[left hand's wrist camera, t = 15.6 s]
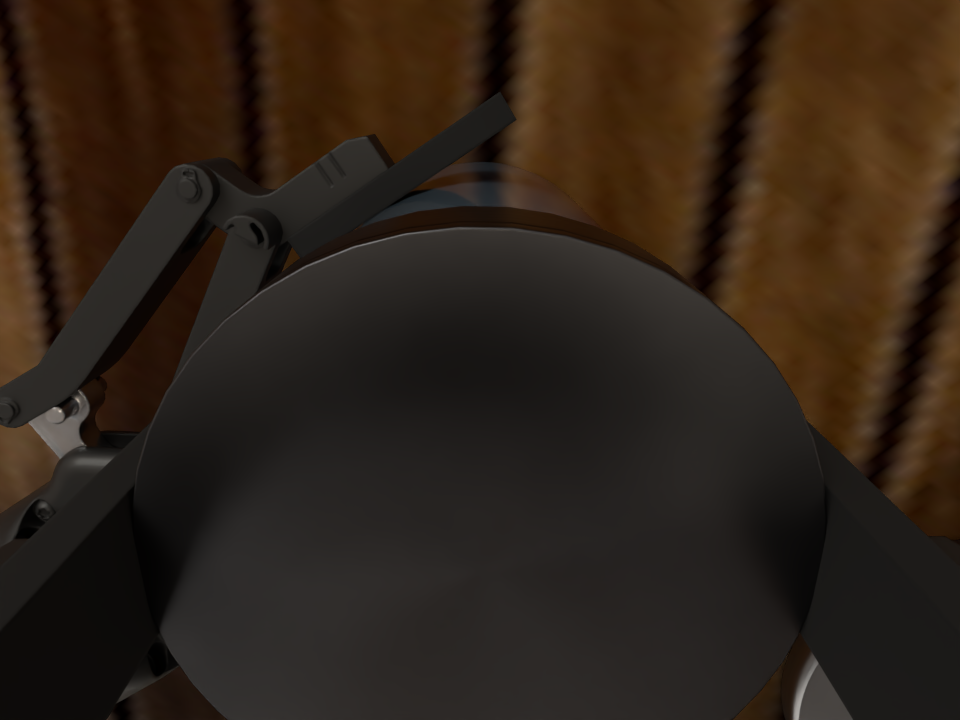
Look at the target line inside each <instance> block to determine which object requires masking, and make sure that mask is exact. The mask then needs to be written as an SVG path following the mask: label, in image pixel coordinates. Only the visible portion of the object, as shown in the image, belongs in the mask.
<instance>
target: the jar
mask: <svg viewBox="0 0 960 720" xmlns="http://www.w3.org/2000/svg"><path fill="white" fill-rule="evenodd" d="M458 206H493V207H513V208H519V209H526V210H532V211H539V212H546V213H552V214H556V215H559V216H562V217H566V218H569V219H573V220H576V221H580V222H583V223H586V224H590V225H593V226H596V227H598V228H600V229H602V228H601V227H600V226H599V225H598V224H597V223H596V222H595V221H594V220H593V219H592V218H591V217H590V216H589V215H588V214H587V213H586V212H585V211H584V210H583V209H582V208H581V207H580V206H579V205H578V204H577V203H576V202H575V201H573V200H572V199H571V198H570V197H569V196H568V195H567V194H566V193H565V192H564V191H562V190H561V189H560V188H558V187H557V186H556V185H554V184H553V183H551V182H549V181H548V180H546V179H544V178H542V177H540V176H538V175H537V174H534V173H532V172H529V171H526V170H524V169H521V168H518V167H514V166H509V165H505V164H499V163H489V162H471V163H461V164H455V165H450V166H448V167H446V168H445V169H443V170H442V171H440V172H439V173H437V174H436V175H434V176H433V177H431V178H430V179H428V180H427V181H425V182H424V183H422V184H421V185H419V186H418V187H416V188H415V189H414V190H412V191H411V192H409V193H408V194H406V195H405V196H403V197H402V198H400V199H399V200H397V201H396V202H394V203H393V204H391V205H390V206H388V207H387V208H385V209H384V210H383V211H381V212H380V213H378V214H377V215H375V216H374V217H372V218H371V219H369V220H368V221H366V222H365V223H363V224H362V225H360V226H359V227H358V228H357V229H359V228H362V227H364V226H367V225H369V224H372V223H374V222H378V221H381V220H385V219H389V218H393V217H397V216H401V215H405V214H409V213H413V212H417V211H424V210H432V209H441V208H449V207H458ZM357 229H356V230H357Z"/></svg>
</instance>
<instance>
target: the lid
mask: <svg viewBox="0 0 960 720" xmlns="http://www.w3.org/2000/svg"><path fill="white" fill-rule="evenodd" d="M132 522H133V535H134V541H135V546H136V551H137V555H138V560H139V565H140V570H141V574H142V579H143V584H144V588H145V593H146V597H147V601H148V605H149V609H150V612H151V615H152V618H153V620H154V622H155V624H156V626H157V628H158V630H159V632H160V634H161V636H162V637H163V639H164V641H165V643H166V645H167V647H168V649H169V651H170V653H171V654H172V656H173V657H174V658H175V660H176V661H177V663H178V664H179V665H180V667H181V668H182V670H183V671H184V673H185V674H186V675H187V677H188V678H189V680H190V681H191V682H192V684H193V685H194V686H195V687H196V688H197V689H198V690H199V691H200V692H201V693H202V695H203V696H204V697H205V698H206V699H207V700H208V701H209V702H210V703H211V704H212V705H213V707H214V708H215V709H216V710H217V711H218V712H219V713H221V714H222V715H223V716H224V717H225V718H226V719H228V720H732V719H733V718H735V717H736V716H737V715H738V714H739V713H740V711H741V710H742V709H743V708H744V707H745V706H746V705H747V704H748V703H749V702H750V701H751V700H752V699H753V698H754V697H755V696H756V695H757V694H758V693H759V692H760V691H761V690H762V688H763V687H764V686H765V684H766V683H767V682H768V681H769V679H770V678H771V677H772V675H773V674H774V673H775V671H776V670H777V669H778V667H779V666H780V665H781V663H782V662H783V661H784V659H785V657H786V655H787V654H788V652H789V650H790V648H791V647H792V645H793V643H794V641H795V640H796V638H797V636H798V634H799V633H800V631H801V629H802V627H803V624H804V622H805V619H806V617H807V614H808V611H809V609H810V606H811V603H812V599H813V596H814V591H815V586H816V582H817V577H818V572H819V567H820V563H821V558H822V553H823V548H824V543H825V537H826V526H827V512H826V500H825V488H824V477H823V473H822V469H821V465H820V461H819V457H818V453H817V449H816V445H815V441H814V438H813V435H812V433H811V431H810V428H809V426H808V424H807V421H806V419H805V417H804V414H803V412H802V410H801V407H800V405H799V403H798V400H797V399H796V397H795V395H794V394H793V392H792V391H791V389H790V387H789V386H788V384H787V383H786V381H785V380H784V378H783V376H782V375H781V373H780V372H779V370H778V368H777V367H776V365H775V364H774V362H773V361H772V360H771V359H770V358H769V357H768V355H767V354H766V353H765V352H764V351H763V350H762V348H761V347H760V346H759V345H758V344H757V343H756V342H755V340H754V339H753V338H752V337H751V336H750V335H749V334H748V332H747V331H746V330H745V329H744V328H743V327H742V326H741V325H739V324H738V323H737V322H736V321H735V320H734V319H732V318H731V317H730V316H729V315H728V314H727V313H725V312H724V311H723V310H722V309H721V308H719V307H718V306H717V305H716V304H715V303H714V302H712V301H711V300H710V299H709V298H708V297H707V296H705V295H704V294H703V293H702V292H700V291H699V290H698V289H697V288H696V287H694V286H693V285H692V284H691V283H690V282H688V281H687V280H686V279H685V278H684V277H682V276H681V275H680V274H679V273H678V272H676V271H675V270H674V269H673V268H672V267H670V266H669V265H667V264H666V263H664V262H663V261H661V260H659V259H658V258H656V257H655V256H653V255H651V254H650V253H648V252H647V251H645V250H643V249H642V248H640V247H639V246H637V245H636V244H634V243H632V242H629V241H627V240H625V239H623V238H620V237H618V236H616V235H614V234H612V233H609V232H607V231H605V230H603V229H600V228H598V227H596V226H593V225H590V224H586V223H583V222H580V221H576V220H573V219H569V218H566V217H562V216H559V215H556V214H552V213H546V212H539V211H532V210H526V209H519V208H513V207H493V206H458V207H449V208H441V209H432V210H424V211H417V212H413V213H409V214H405V215H401V216H397V217H393V218H389V219H385V220H381V221H378V222H374V223H372V224H369V225H367V226H364V227H362V228H359V229H357V230H354V231H352V232H350V233H347V234H345V235H342V236H340V237H337V238H335V239H333V240H331V241H329V242H328V243H326V244H324V245H323V246H321V247H319V248H317V249H316V250H314V251H312V252H310V253H309V254H307V255H305V256H304V257H302V258H300V259H298V260H297V261H296V262H294V263H293V264H292V265H291V266H289V267H288V268H287V269H286V270H284V271H283V272H282V273H280V274H279V275H278V276H277V277H275V278H274V279H273V280H272V281H270V282H269V283H268V284H267V285H265V286H264V287H263V288H262V289H260V290H259V291H258V292H257V293H255V294H254V295H253V296H252V297H251V298H249V299H248V300H247V301H246V302H245V303H243V304H242V305H241V306H240V307H238V308H237V309H236V310H235V311H234V312H232V313H231V314H230V315H229V316H227V317H226V318H225V319H224V320H223V321H222V322H221V323H220V324H219V325H218V326H217V327H216V328H215V329H214V330H213V331H212V333H211V334H210V335H209V336H208V337H207V338H206V339H205V340H204V341H203V342H202V343H201V344H200V345H199V346H198V347H197V348H196V350H195V351H194V352H193V353H192V354H191V355H190V357H189V358H188V360H187V361H186V363H185V364H184V366H183V367H182V368H181V370H180V371H179V373H178V374H177V376H176V377H175V379H174V380H173V382H172V383H171V384H170V386H169V387H168V389H167V390H166V392H165V395H164V397H163V399H162V401H161V403H160V405H159V407H158V409H157V411H156V414H155V416H154V418H153V420H152V422H151V424H150V426H149V428H148V432H147V435H146V438H145V442H144V445H143V449H142V452H141V456H140V459H139V463H138V466H137V471H136V480H135V488H134V496H133V504H132Z"/></svg>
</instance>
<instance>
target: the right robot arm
mask: <svg viewBox="0 0 960 720" xmlns="http://www.w3.org/2000/svg"><path fill="white" fill-rule="evenodd" d="M515 120H516V118H515V116H514V115H513V113H512V111H511V110H510V108H509V106H508V105H507V103H506V101H505V99H504V98H503V96H502V94H501V93H500V92H499V93H498V94H496V95H495V96H493V97H492V98H490V99H489V100H487V101H486V102H485V103H483V104H482V105H480V106H479V107H477V108H476V109H474V110H473V111H471V112H470V113H469V114H467V115H466V116H464V117H463V118H461V119H460V120H458V121H457V122H456V123H454V124H453V125H451V126H450V127H448V128H447V129H445V130H444V131H442V132H441V133H440V134H438V135H437V136H435V137H434V138H432V139H431V140H429V141H428V142H427V143H425V144H424V145H422V146H421V147H419V148H418V149H416V150H415V151H414V152H412V153H411V154H409V155H408V156H406V157H405V158H403V159H402V160H400V161H399V162H398V163H396V164H394V162H393V161H392V159H391V158H390V156H389V155H388V153H387V152H386V150H385V149H384V147H383V146H382V144H381V143H380V141H379V140H378V138H377V137H376V135H375V134H373V135H368V136H363V137H358V138H354V139H349V140H346V141H344V142H343V143H342V144H340V145H339V146H337V147H336V148H335V149H333V150H332V151H330V152H329V153H328V154H326V155H325V156H323V157H322V158H320V159H319V160H318V161H316V162H315V163H313V164H312V165H311V166H309V167H308V168H306V169H305V170H304V171H302V172H301V173H299V174H298V175H297V176H295V177H294V178H292V179H291V180H289V181H288V182H287V183H285V184H284V185H282V186H281V187H280V188H278V189H277V190H270V189H266V188H263V187H261V186H259V185H257V184H256V183H254V182H253V181H252V180H250V179H249V178H247V177H246V176H245V175H243V174H242V172H241V169H240V168H239V167H238V166H237V165H236V164H235V163H234V162H232V161H231V160H229V159H227V158H213V159H207V160H202V161H196V162H191V163H186V164H182V165H179V166H175V167H174V168H173V169H172V170H171V171H170V172H169V173H168V174H167V176H166V177H165V179H164V180H163V182H162V183H161V185H160V186H159V188H158V189H157V191H156V192H155V193H154V195H153V196H152V198H151V199H150V201H149V202H148V204H147V205H146V207H145V208H144V210H143V211H142V213H141V214H140V216H139V217H138V219H137V220H136V221H135V223H134V224H133V226H132V227H131V229H130V230H129V232H128V233H127V235H126V236H125V238H124V239H123V241H122V242H121V244H120V245H119V247H118V248H117V249H116V251H115V252H114V254H113V255H112V257H111V258H110V260H109V261H108V263H107V264H106V266H105V267H104V269H103V270H102V272H101V273H100V275H99V276H98V278H97V279H96V280H95V282H94V283H93V285H92V286H91V288H90V289H89V291H88V292H87V294H86V295H85V297H84V298H83V300H82V301H81V303H80V304H79V306H78V307H77V308H76V310H75V311H74V313H73V314H72V316H71V317H70V319H69V320H68V322H67V323H66V325H65V326H64V328H63V329H62V331H61V332H60V334H59V335H58V336H57V338H56V339H55V341H54V342H53V344H52V345H51V347H50V348H49V350H48V351H47V353H46V354H45V356H44V357H43V359H42V360H41V362H40V363H39V364H38V366H36V367H34V368H33V369H31V370H29V371H28V372H26V373H24V374H22V375H21V376H19V377H17V378H16V379H14V380H12V381H11V382H9V383H7V384H6V385H4V386H2V387H1V388H0V425H3V426H5V427H10V428H17V427H20V426H23V425H24V424H26V423H29V424H30V425H31V426H32V427H33V428H34V430H35V431H36V432H37V433H38V434H39V435H40V436H41V438H42V439H43V440H44V441H45V442H46V443H47V444H48V446H49V447H50V448H51V449H52V450H53V451H54V452H55V454H56V455H57V456H58V457H59V458H60V460H59V462H58V463H57V465H56V467H55V470H54V473H53V476H52V479H51V481H49V482H48V483H46V484H45V485H43V486H42V487H40V488H39V489H37V490H36V491H34V492H33V493H31V494H30V495H28V496H27V497H25V498H24V499H22V500H20V501H19V502H17V503H16V504H14V505H13V506H11V507H10V508H8V509H7V510H5V511H4V512H2V513H1V514H0V547H2V546H3V545H5V544H7V543H9V542H10V541H12V540H14V539H29V538H30V537H31V536H32V535H34V534H35V533H36V532H37V531H38V530H39V529H40V528H41V527H42V526H43V525H44V524H45V523H46V522H47V521H48V520H49V519H50V518H51V517H52V516H53V515H54V514H55V513H57V512H58V511H59V510H60V509H61V508H62V507H63V506H64V505H65V504H66V503H67V502H68V501H69V500H70V499H71V498H72V497H73V496H74V495H75V494H76V493H77V492H79V491H80V490H81V489H82V488H83V487H84V486H85V485H86V484H87V483H88V482H89V481H90V480H91V479H92V478H93V477H94V476H95V475H96V474H97V473H98V472H99V471H100V470H102V469H103V468H104V467H105V466H106V465H107V464H108V463H109V462H110V461H111V460H112V459H113V458H114V457H115V456H116V455H117V454H118V453H119V452H120V451H121V450H122V449H123V448H125V447H126V446H127V445H128V444H129V443H130V442H131V441H132V440H133V439H134V438H135V437H136V436H137V435H138V434H139V433H140V432H130V431H100V430H99V429H98V427H97V426H96V422H95V414H96V412H97V410H98V409H99V408H100V407H101V406H102V405H103V403H104V401H105V392H104V391H105V390H106V388H107V383H106V381H105V380H104V379H103V378H102V377H100V375H101V374H103V373H104V372H106V371H107V370H108V369H110V368H111V367H112V366H113V365H114V364H115V363H116V362H117V361H119V360H120V358H121V357H122V356H123V355H124V354H125V352H126V351H127V350H128V349H129V347H130V346H131V344H132V343H133V342H134V340H135V339H136V337H137V336H138V335H139V333H140V332H141V331H142V329H143V328H144V326H145V325H146V324H147V322H148V321H149V319H150V318H151V317H152V315H153V314H154V313H155V311H156V310H157V308H158V307H159V306H160V304H161V303H162V301H163V300H164V299H165V297H166V296H167V295H168V293H169V292H170V290H171V289H172V288H173V286H174V285H175V283H176V282H177V281H178V279H179V278H180V277H181V275H182V274H183V272H184V271H185V270H186V268H187V267H188V265H189V264H190V263H191V261H192V260H193V259H194V257H195V256H196V254H197V253H198V252H199V250H200V249H201V247H202V246H203V245H204V243H205V242H206V241H207V239H208V238H209V236H210V235H211V234H212V232H213V231H214V229H215V228H216V227H218V228H220V229H221V230H223V231H224V232H226V233H227V234H228V236H227V239H226V241H225V244H224V247H223V249H222V252H221V254H220V257H219V260H218V262H217V265H216V268H215V270H214V273H213V276H212V278H211V281H210V283H209V286H208V289H207V291H206V294H205V297H204V299H203V302H202V305H201V307H200V310H199V312H198V315H197V318H196V320H195V323H194V326H193V328H192V331H191V334H190V336H189V339H188V341H187V344H186V347H185V349H184V352H183V355H182V357H181V360H180V363H179V365H178V368H177V370H176V373H175V376H174V378H173V380H174V379H175V377H176V376H177V374H178V373H179V371H180V370H181V368H182V367H183V366H184V364H185V363H186V361H187V360H188V358H189V357H190V355H191V354H192V353H193V352H194V351H195V350H196V348H197V347H198V346H199V345H200V344H201V343H202V342H203V341H204V340H205V339H206V338H207V337H208V336H209V335H210V334H211V333H212V331H213V330H214V329H215V328H216V327H217V326H218V325H219V324H220V323H221V322H222V321H223V320H224V319H225V318H226V317H227V316H229V315H230V314H231V313H232V312H234V311H235V310H236V309H237V308H238V307H240V306H241V305H242V304H243V303H245V302H246V301H247V300H248V299H249V298H251V297H252V296H253V295H254V294H255V293H257V292H258V291H259V290H260V289H262V288H263V287H264V286H265V285H267V284H268V283H269V282H270V281H272V280H273V279H274V278H275V277H277V276H278V275H279V274H280V273H281V272H282V269H283V267H284V265H285V262H286V260H287V257H288V255H289V253H290V250H291V248H292V247H293V248H294V250H295V251H296V253H297V254H298V255H299V257H300V258H302V257H304V256H305V255H307V254H309V253H310V252H312V251H314V250H316V249H317V248H319V247H321V246H323V245H324V244H326V243H328V242H329V241H331V240H333V239H335V238H337V237H340V236H342V235H345V234H347V233H350V232H351V231H353V230H354V229H356V228H357V227H359V226H360V225H362V224H363V223H365V222H366V221H368V220H369V219H371V218H372V217H374V216H375V215H377V214H378V213H380V212H381V211H383V210H384V209H385V208H387V207H388V206H390V205H391V204H393V203H394V202H396V201H397V200H399V199H400V198H402V197H403V196H405V195H406V194H408V193H409V192H411V191H412V190H414V189H415V188H416V187H418V186H419V185H421V184H422V183H424V182H425V181H427V180H428V179H430V178H431V177H433V176H434V175H436V174H437V173H439V172H440V171H442V170H443V169H445V168H446V167H448V166H449V165H450V164H452V163H453V162H455V161H456V160H458V159H459V158H461V157H462V156H464V155H465V154H467V153H468V152H470V151H471V150H473V149H474V148H476V147H477V146H479V145H480V144H481V143H483V142H484V141H486V140H487V139H489V138H490V137H492V136H493V135H495V134H496V133H498V132H499V131H501V130H502V129H504V128H505V127H507V126H508V125H510V124H511V123H513V122H514V121H515ZM172 382H173V381H172ZM179 666H180V665H179V664H178V663H177V661H176V660H175V658H174V657H173V656H172V654H171V653H170V651H169V649H168V647H167V645H166V643H165V641H164V639H163V637H162V636H161V634H160V633H159V634H158V636H157V637H156V639H155V641H154V642H153V644H152V646H151V647H150V649H149V651H148V652H147V654H146V655H145V657H144V659H143V660H142V662H141V664H140V665H139V667H138V669H137V670H136V672H135V674H134V675H133V677H132V678H131V680H130V682H129V683H128V685H127V687H126V688H125V690H124V692H123V693H122V695H121V696H120V698H119V700H118V701H117V703H118V702H120V701H122V700H123V699H125V698H127V697H129V696H131V695H132V694H134V693H136V692H138V691H140V690H141V689H143V688H145V687H147V686H149V685H150V684H152V683H154V682H156V681H158V680H159V679H161V678H163V677H164V676H166V675H167V674H169V673H170V672H172V671H173V670H174V669H176V668H177V667H179Z"/></svg>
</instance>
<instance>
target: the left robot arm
mask: <svg viewBox="0 0 960 720" xmlns="http://www.w3.org/2000/svg"><path fill="white" fill-rule="evenodd" d="M806 421H807V420H806ZM150 424H151V423H150ZM150 424H149V425H148V426H146V427H145V428H144V429H143V430H142V431H141V432H140V433H139V434H138V435H137V436H136V437H135V438H134V439H133V440H132V441H131V442H130V443H129V444H128V445H127V446H126V447H125V448H123V449H122V450H121V451H120V452H119V453H118V454H117V455H116V456H115V457H114V458H113V459H112V460H111V461H110V462H109V463H108V464H107V465H106V466H105V467H104V468H103V469H102V470H100V471H99V472H98V473H97V474H96V475H95V476H94V477H93V478H92V479H91V480H90V481H89V482H88V483H87V484H86V485H85V486H84V487H83V488H82V489H81V490H80V491H79V492H77V493H76V494H75V495H74V496H73V497H72V498H71V499H70V500H69V501H68V502H67V503H66V504H65V505H64V506H63V507H62V508H61V509H60V510H59V511H58V512H57V513H55V514H54V515H53V516H52V517H51V518H50V519H49V520H48V521H47V522H46V523H45V524H44V525H43V526H42V527H41V528H40V529H39V530H38V531H37V532H36V533H35V534H34V535H32V536H31V537H30V538H29V539H14V540H12V541H10V542H9V543H7V544H5V545H3V546H2V547H0V720H106V719H107V718H108V716H109V714H110V713H111V711H112V710H113V708H114V706H115V705H116V703H117V701H118V700H119V698H120V696H121V695H122V693H123V692H124V690H125V688H126V687H127V685H128V683H129V682H130V680H131V678H132V677H133V675H134V674H135V672H136V670H137V669H138V667H139V665H140V664H141V662H142V660H143V659H144V657H145V655H146V654H147V652H148V651H149V649H150V647H151V646H152V644H153V642H154V641H155V639H156V637H157V636H158V634H159V633H160V632H159V630H158V628H157V626H156V624H155V622H154V620H153V618H152V615H151V612H150V609H149V605H148V601H147V597H146V593H145V588H144V584H143V579H142V574H141V570H140V565H139V560H138V555H137V551H136V546H135V541H134V535H133V522H132V504H133V496H134V488H135V480H136V471H137V466H138V463H139V459H140V456H141V452H142V449H143V445H144V442H145V438H146V435H147V432H148V428H149V426H150ZM807 424H808V426H809V428H810V431H811V433H812V435H813V438H814V441H815V445H816V449H817V453H818V457H819V461H820V465H821V469H822V473H823V477H824V488H825V500H826V512H827V526H826V537H825V543H824V548H823V553H822V558H821V563H820V567H819V572H818V577H817V582H816V586H815V591H814V596H813V599H812V603H811V606H810V609H809V611H808V614H807V617H806V619H805V622H804V624H803V627H802V629H801V631H800V634H799V635H798V637H797V639H796V641H795V642H794V644H793V646H792V648H791V651H790V653H789V655H788V658H787V661H786V664H785V667H784V672H783V677H782V684H781V700H782V708H783V713H784V717H785V719H786V720H960V540H954V541H952V540H950V539H948V538H947V537H945V536H927V535H926V534H925V533H924V532H923V531H922V530H920V529H919V528H918V527H917V526H916V525H915V524H914V523H913V522H912V521H911V520H910V519H909V518H908V517H907V516H906V515H905V514H904V513H903V512H902V511H901V510H900V509H899V508H897V507H896V506H895V505H894V504H893V503H892V502H891V501H890V500H889V499H888V498H887V497H886V496H885V495H884V494H883V493H882V492H881V491H880V490H879V489H878V488H877V487H876V486H874V485H873V484H872V483H871V482H870V481H869V480H868V479H867V478H866V477H865V476H864V475H863V474H862V473H861V472H860V471H859V470H858V469H857V468H856V467H855V466H854V465H853V464H851V463H850V462H849V461H848V460H847V459H846V458H845V457H844V456H843V455H842V454H841V453H840V452H839V451H838V450H837V449H836V448H835V447H834V446H833V445H832V444H831V443H830V442H828V441H827V440H826V439H825V438H824V437H823V436H822V435H821V434H820V433H819V432H818V431H817V430H816V429H815V428H814V427H813V426H812V425H811V424H810V423H809V422H808V421H807Z"/></svg>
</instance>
